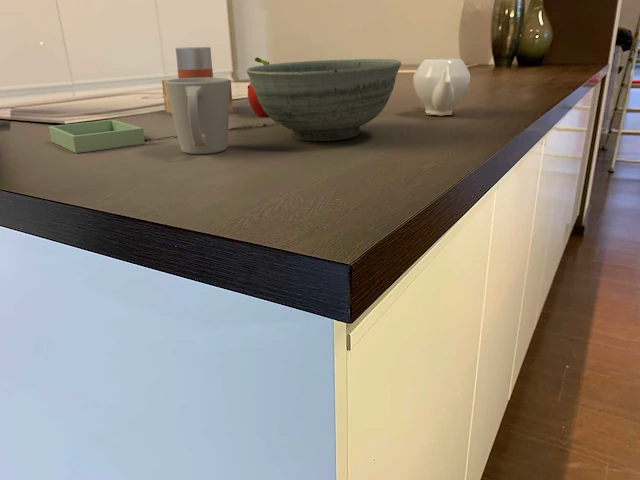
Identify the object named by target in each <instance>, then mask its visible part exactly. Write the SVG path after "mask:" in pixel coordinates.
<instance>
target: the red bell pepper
mask: <svg viewBox="0 0 640 480" xmlns="http://www.w3.org/2000/svg"><path fill="white" fill-rule="evenodd" d="M254 61H255V62H257V63H260V64H262V65H269V64H270V62H269V61H267V60H263V59H262V58H261V57H259V56H258V57H257V56H256V57H255V58H254ZM247 99H248V103H249V105H250V107H251V109H252V110H253V112H254V114H255V115H256V116H257V117H258V118H270V117H269V116H268V115H267V113H266V112H265V111H264V110H263V108H262V106H261V105H260V103H259V101H258V99H257V96H256V94H255V91H254V88H253V86H252V83H251V82H250V83H249V84H248V85H247Z"/></svg>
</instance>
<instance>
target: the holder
mask: <svg viewBox="0 0 640 480" xmlns="http://www.w3.org/2000/svg"><path fill="white" fill-rule="evenodd" d="M167 80H168V79H164V80H163V79H162V80H161V85H162V94H163V104H164V111H165V113H169V114H172V111H171V107H170V102H169V97H168V93H167V88H166V83H165V82H166V81H167ZM229 80H230V92H229V113H233V112H234V106H233V105H234V104H233V94H232V80H231V79H229Z"/></svg>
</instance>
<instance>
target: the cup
mask: <svg viewBox="0 0 640 480" xmlns="http://www.w3.org/2000/svg"><path fill="white" fill-rule="evenodd" d="M166 80H167V81H166V82H165V83H166V88H167V93H168V97H169V102H170V107H171V111H172V113H171V116H172V120H173V125H174V128H175V131H176V136H177V139H178V142H179V143H178V144H179V148H180V151H181V152H183V153H184V154H187V155H213V154H218V153H222V152H224V151H225V150H226V149H228V136H229V122H230V119H229V118H230V112H229V92H230V80H231V79H229V78H227V77H213V78H211V77H207V78H182V79H178V78H174V79H173V78H172V79H166Z"/></svg>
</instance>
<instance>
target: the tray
mask: <svg viewBox="0 0 640 480" xmlns="http://www.w3.org/2000/svg"><path fill="white" fill-rule="evenodd" d="M48 132H49V136H50V141H51V143H53V144H56V145H58V146H60V147H62V148H64V149H66V150H69V151H70V152H73V153H74V154H81V153H89V152H96V151H103V150H109V149H118V148H124V147H132V146H138V145H146V140H145V132H144V128H143V127H140V126H137V125H134V124H129V123H126V122H122V121H119V120H115V119H106V120H95V121H86V122H78V123H68V124H59V125H50V126H49V125H48Z"/></svg>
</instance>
